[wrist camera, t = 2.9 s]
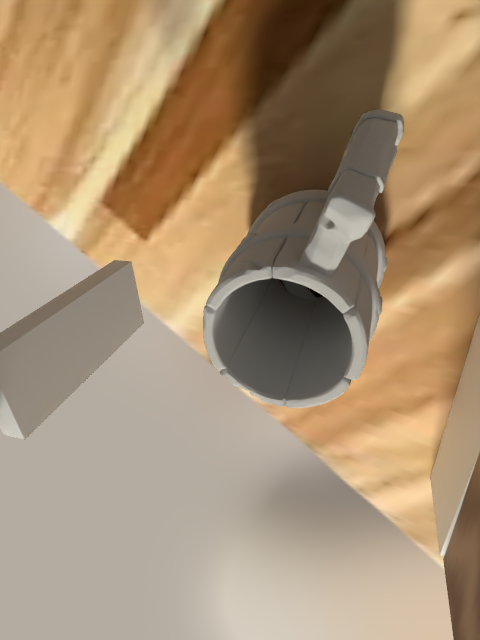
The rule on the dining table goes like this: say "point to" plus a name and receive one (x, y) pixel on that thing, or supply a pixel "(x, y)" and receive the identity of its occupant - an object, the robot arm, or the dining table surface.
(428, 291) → the dining table surface
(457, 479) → the grey slab
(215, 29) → the dining table surface
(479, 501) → the walnut slab
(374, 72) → the dining table surface
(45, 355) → the robot arm
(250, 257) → the mug
